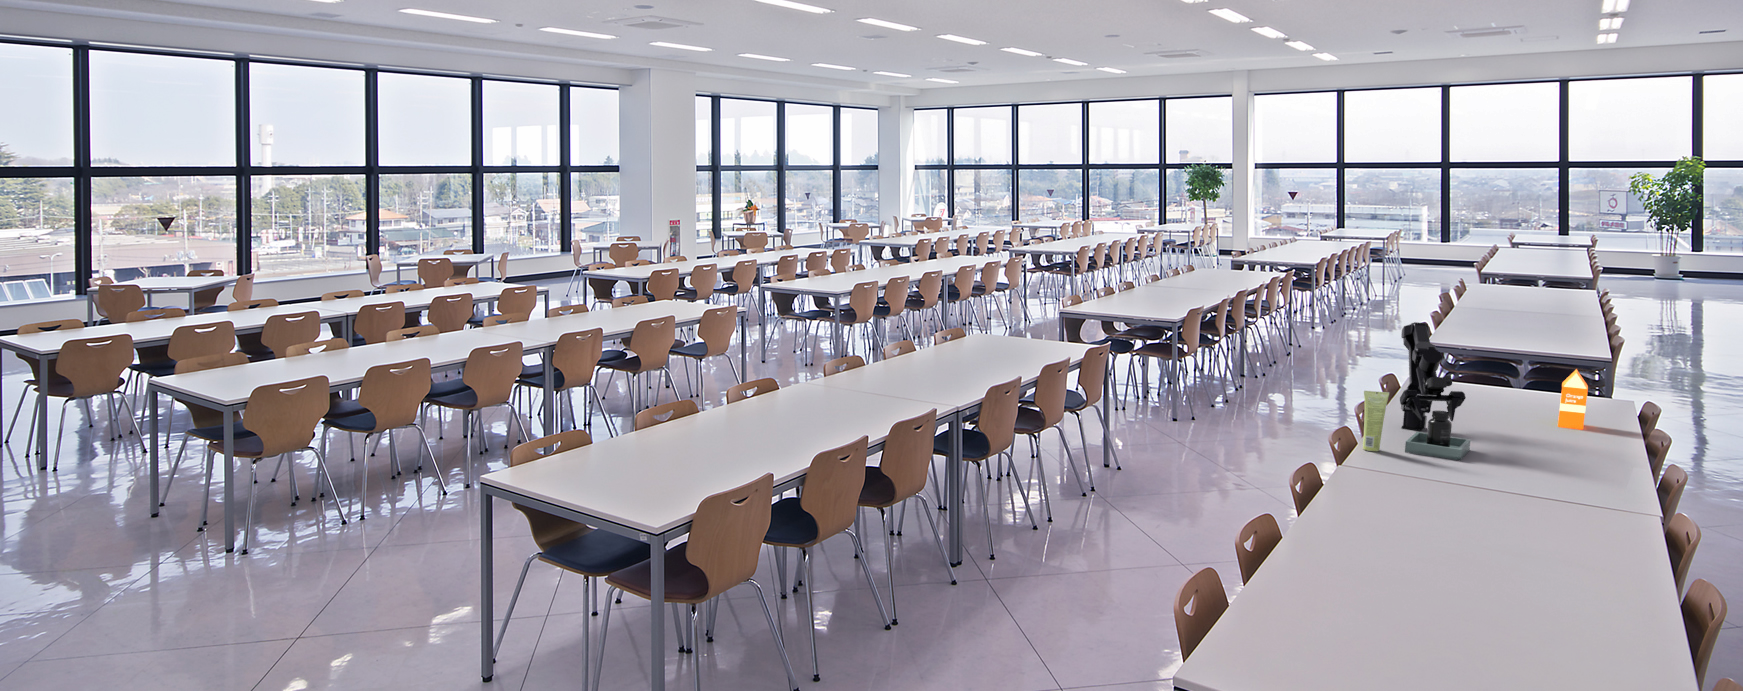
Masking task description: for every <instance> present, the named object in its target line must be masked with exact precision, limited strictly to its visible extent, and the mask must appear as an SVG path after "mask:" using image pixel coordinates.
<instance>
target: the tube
mask: <svg viewBox="0 0 1743 691" xmlns="http://www.w3.org/2000/svg"><path fill="white" fill-rule="evenodd" d="M1389 397H1390V391H1387V392H1386V391H1374V390H1364V391H1363V398H1364V420H1363V421H1364V422H1363V423H1364V425H1363V441H1362V450H1365V451H1368V452H1379V451H1380V447H1381V440H1382V434H1383V427H1384V422H1385V421H1384V420H1385V415H1386V409H1387V405H1388V401H1389V400H1388V399H1389Z"/></svg>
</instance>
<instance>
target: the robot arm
mask: <svg viewBox="0 0 1743 691" xmlns="http://www.w3.org/2000/svg"><path fill="white" fill-rule="evenodd" d="M1430 331H1431V330H1430V326H1429V324H1428V323H1426V322H1416V321H1415V322H1411V323H1410V324H1407V325H1404V326H1403V327H1402V330H1401V339H1402V340H1403V346H1404V347H1405V348H1406V349H1407V350H1408V371H1409V372H1408V375H1409V379H1408V381H1409V384H1408V386H1407V387H1406V389H1404V390H1403V392H1402V393H1401V395H1400V396H1399V403H1400V409H1401V412H1403V422H1402V426H1401V429H1405V430H1413V431H1418V432H1422V431H1423V430H1424V429H1425V428H1427V418H1428V416H1427V415H1426V414H1429V413H1431V411H1432V410H1431V409H1432V404H1433V402H1446V410H1447V412H1449V418H1448V419H1449V421H1450V422H1454V418H1455V413H1456V409H1457V408H1459V407H1461V406H1462V404H1463V403H1464V401H1465V400H1466V394H1465V391H1462V390H1461V391H1460V390H1450V392H1449V393H1448V394H1442V393H1444V392H1445V388H1448V387H1451V386H1452V385H1453V379H1452V376H1451V375H1444V376H1441V377H1438V375H1437V371H1438V370H1439V367H1440V364H1441V361H1442V360H1443V355H1442V353H1441V352H1440V351H1438V350H1437V349H1438V348H1437V347H1436V345H1434V344H1433V343H1431V341H1430V340H1431V339H1430V335H1431V334H1430V333H1431V332H1430Z"/></svg>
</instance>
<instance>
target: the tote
mask: <svg viewBox="0 0 1743 691" xmlns="http://www.w3.org/2000/svg"><path fill="white" fill-rule="evenodd" d="M1471 441H1472V440H1471V439H1469V438H1463V437H1457V436H1456V437H1455V436H1451V440H1450V447H1444V446H1437V445H1430V444H1427V432H1422V431H1416V432H1415V433H1414V434H1413V435H1412V436H1410V437H1409V438H1408V439H1407V440H1406V441H1405V443H1404V445H1405V446H1404V453H1407V452H1409V454H1414V453H1415V454H1416V455H1420V454H1421V456H1427V457H1433V456H1434V458H1440V457H1441V459H1446V458H1447V459H1448V460H1452V461H1453V460H1454V461H1459V460H1460V461H1461V460H1462V459H1463V458H1464V457H1465V456H1466V455H1465V454H1468V453H1469V451H1471V448H1470V447H1471ZM1415 454H1414V455H1415Z"/></svg>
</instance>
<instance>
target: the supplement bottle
mask: <svg viewBox="0 0 1743 691" xmlns="http://www.w3.org/2000/svg"><path fill="white" fill-rule="evenodd" d="M1431 414H1432V415H1431V418H1430V419H1429V420H1428V422H1427V432H1426V433H1427V444H1430V445H1437V446H1444V447H1450V440H1451V437H1452V427H1453V426H1452V421H1451V420H1450V418H1449V412H1448V411H1445V410H1432V412H1431Z"/></svg>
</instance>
